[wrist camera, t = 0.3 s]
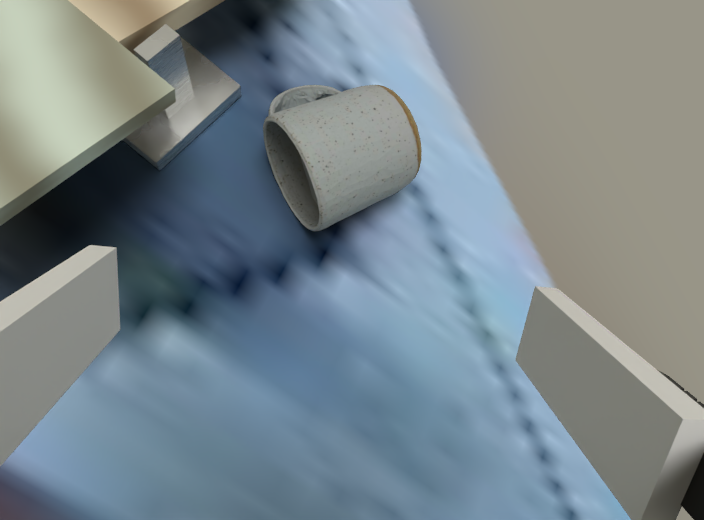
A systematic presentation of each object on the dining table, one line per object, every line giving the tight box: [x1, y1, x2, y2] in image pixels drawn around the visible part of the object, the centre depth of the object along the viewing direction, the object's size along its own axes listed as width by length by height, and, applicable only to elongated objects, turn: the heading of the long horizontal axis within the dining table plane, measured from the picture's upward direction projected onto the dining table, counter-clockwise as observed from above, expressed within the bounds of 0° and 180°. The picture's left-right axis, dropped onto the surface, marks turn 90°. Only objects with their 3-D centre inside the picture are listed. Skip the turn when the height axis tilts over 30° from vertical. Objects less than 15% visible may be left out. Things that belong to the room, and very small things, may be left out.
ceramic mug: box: [263, 85, 421, 231], centre depth 30 cm, size 11×8×8 cm
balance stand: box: [123, 24, 241, 170], centre depth 29 cm, size 8×12×7 cm, turn 52°
